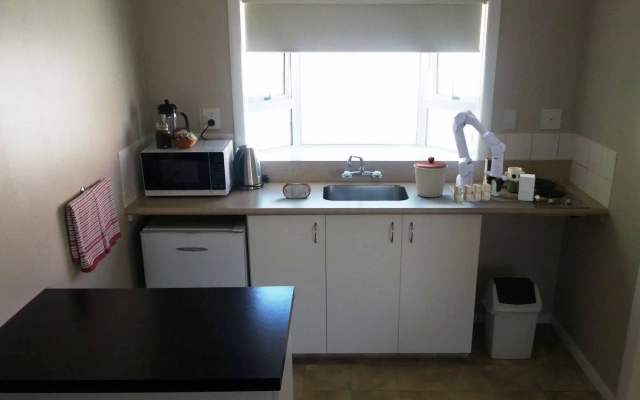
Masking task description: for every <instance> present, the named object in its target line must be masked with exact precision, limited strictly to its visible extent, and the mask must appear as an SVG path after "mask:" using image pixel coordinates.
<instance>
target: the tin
mask: <svg viewBox="0 0 640 400" xmlns="http://www.w3.org/2000/svg"><path fill="white" fill-rule="evenodd" d="M311 191H312V189H311V186H310V185H309V184H308V183H307V182H286V184H284V186H283V187H282V193H283V196H284V197H285V198H287V199H289V198H295V199H306V198H308V197H309V196H310V195H311Z"/></svg>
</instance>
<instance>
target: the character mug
mask: <svg viewBox="0 0 640 400" xmlns="http://www.w3.org/2000/svg"><path fill="white" fill-rule="evenodd" d="M520 174H526V173H525V171H523V168H522V167H516V166H514V167H513V166H512V167H508V168H507V171H505V172H504V175H505V176H507V180H508V184H507V188H506V189H507V191H508V192H510V193H515V192H517V193H519V181H520Z"/></svg>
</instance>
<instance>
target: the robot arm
mask: <svg viewBox="0 0 640 400" xmlns="http://www.w3.org/2000/svg"><path fill="white" fill-rule="evenodd" d="M453 119H454V120H453V123H452V133H453V136H454V140H455V145H456V149H457V153H458V158H459V160H458V169H457V171H458V174H457V176H456V178H455V179H456V180H455V182H456V183H455V186H457V185H458V186H460V187H462V194H463V191H464V185H469V186H471V187H472V188H473V183H474V172H475V171H476V164H475V163H474V162H473V159H472V157H470V153H469V149H468V145H467V141H466V136H465V135H466V134H465V131H464V128H465V127H466V126H467V125H469V126H471V127H473V128H474V129H475V130H476V131H477V132H478V133H479V134H480V135H481V136H482V138H481V139H482V140H483V142H484V143H485V144H486V145H487V146H488V147H489V149H490V151H491V154H492V155H491V156H492V157H491V158H492V165H491V172H490V171H486V175H489V176H488V177H486V178H487V180H488V183H489V185H491V184H492V180H495V181H496V192H499V193H500V192H501V190H502V188H503V185H504V184H505V183H506V182H507V180H508V178H507V176H508V175H507V176H505V174H504V173H503V174H502V170H503V171H504V166H503V159H504V156H505V155H504V154H505V152H506V149H507V148H506V146H507V145H506V144H505V142H501V140H499V139H498V138H497V137H496V136H495V135H496V134H495V133H494V132H492V131H488V130H487V129H486V127H484V125H483V124H482V123H481V121H480V120H479V119H478V118H477V116H476V114H475V113H473V112H472V110H469V109H465V110H462V111H458V112H457V113H456V114H455V116H454V117H453ZM496 178H498V179H496ZM471 193H473V189H472V191H471Z"/></svg>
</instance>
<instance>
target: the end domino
mask: <svg viewBox="0 0 640 400" xmlns="http://www.w3.org/2000/svg"><path fill="white" fill-rule="evenodd" d="M491 195H492V196H494V197H499V195H500V192H496V181H495V180H492V184H491V191H490V196H491Z"/></svg>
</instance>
